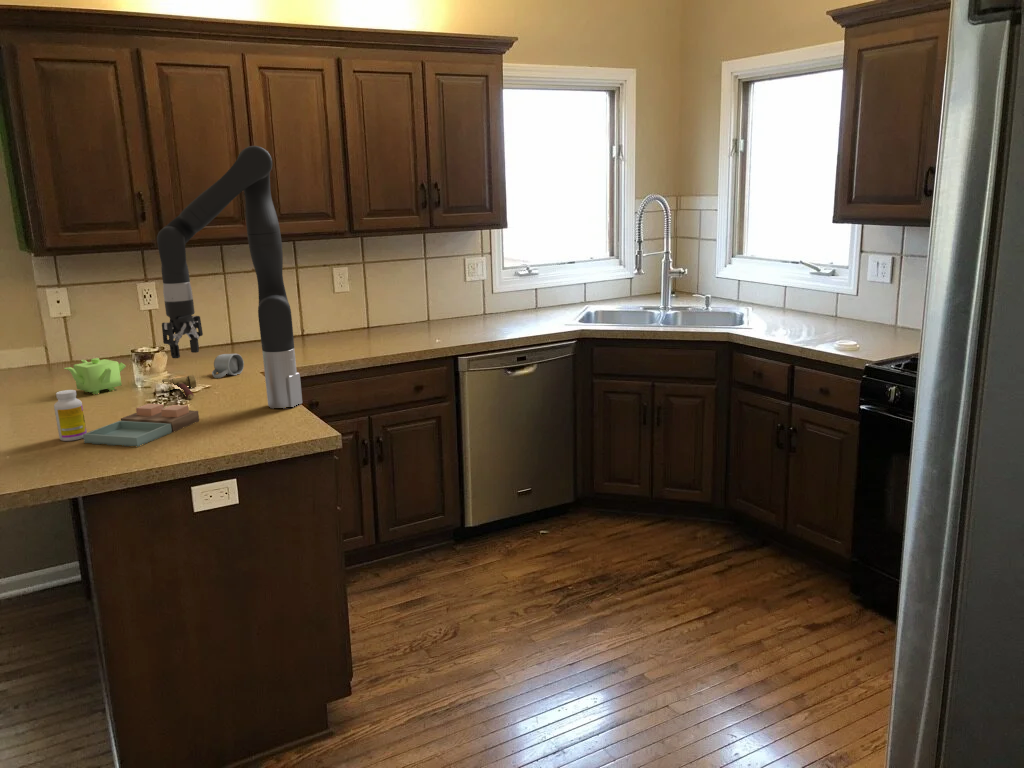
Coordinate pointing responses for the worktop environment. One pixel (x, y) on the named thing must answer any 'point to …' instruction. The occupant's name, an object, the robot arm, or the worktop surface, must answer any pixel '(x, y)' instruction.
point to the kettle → (97, 375)
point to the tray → (127, 433)
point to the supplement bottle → (69, 416)
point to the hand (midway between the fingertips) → (185, 355)
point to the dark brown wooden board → (166, 419)
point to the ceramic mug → (228, 365)
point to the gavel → (184, 384)
